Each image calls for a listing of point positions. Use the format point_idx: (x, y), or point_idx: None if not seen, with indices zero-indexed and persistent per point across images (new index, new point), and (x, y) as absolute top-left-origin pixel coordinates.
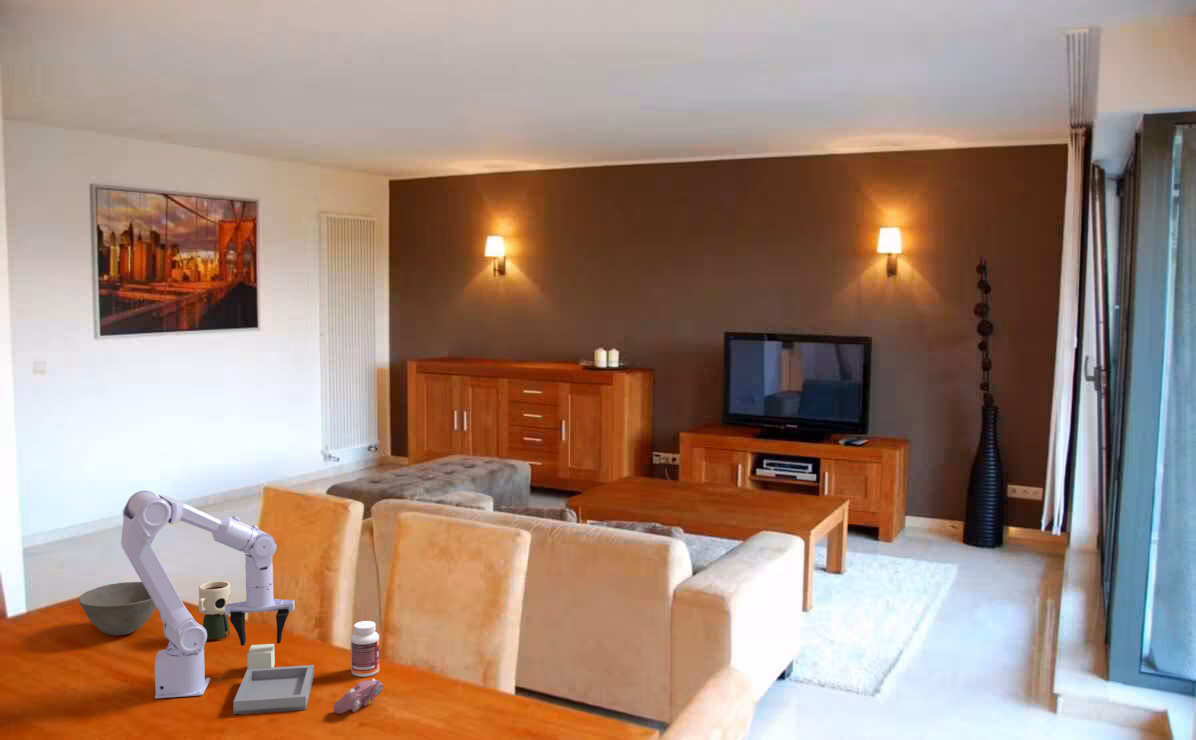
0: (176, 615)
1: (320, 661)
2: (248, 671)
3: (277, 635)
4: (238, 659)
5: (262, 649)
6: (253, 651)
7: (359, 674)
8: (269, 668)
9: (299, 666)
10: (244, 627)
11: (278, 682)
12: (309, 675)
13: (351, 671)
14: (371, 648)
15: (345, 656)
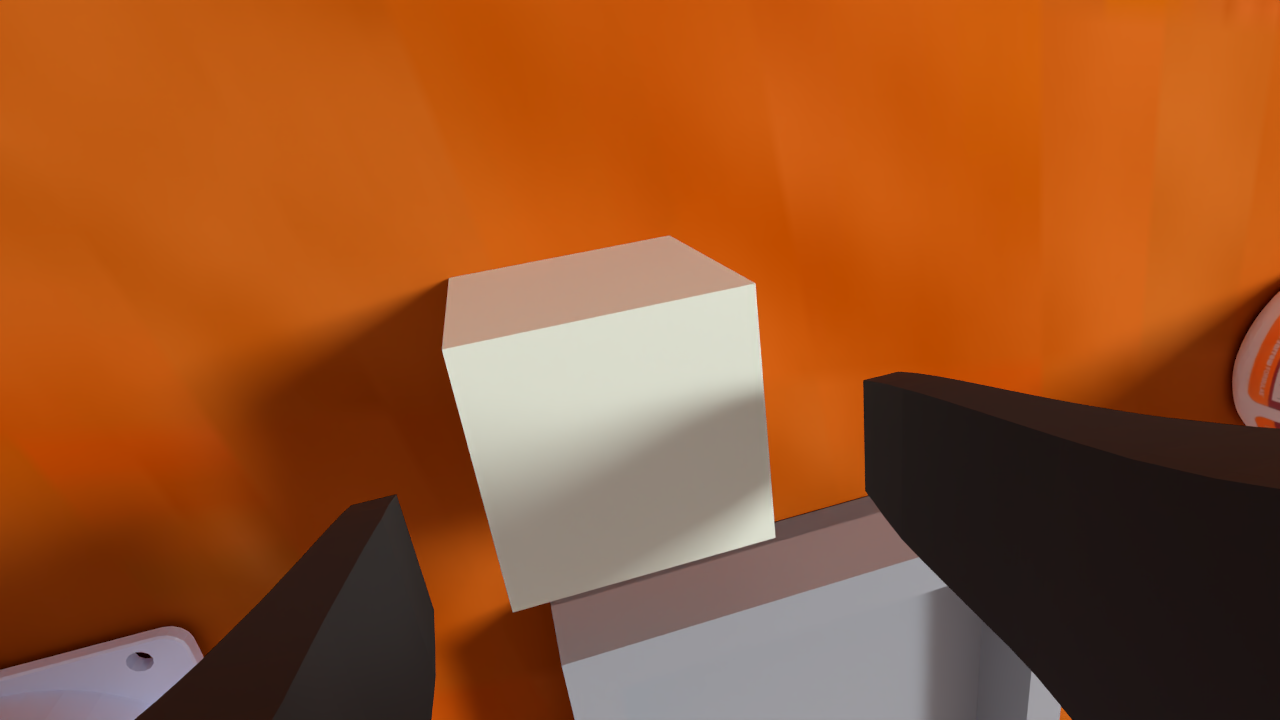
0: None
1: (1043, 157)
2: (592, 703)
3: (959, 586)
4: (188, 85)
5: (653, 472)
6: (561, 541)
7: None
8: (757, 621)
9: None
10: (331, 680)
11: (809, 631)
12: None
13: (1240, 390)
14: None
15: (1229, 43)
